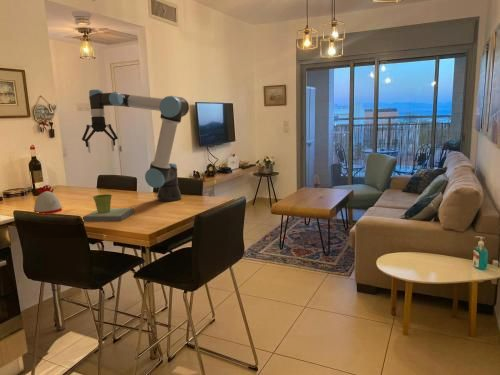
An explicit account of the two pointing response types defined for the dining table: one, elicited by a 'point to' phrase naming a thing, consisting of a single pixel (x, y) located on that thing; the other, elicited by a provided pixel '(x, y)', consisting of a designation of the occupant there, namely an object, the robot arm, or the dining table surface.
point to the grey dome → (47, 202)
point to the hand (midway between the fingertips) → (101, 151)
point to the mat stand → (110, 215)
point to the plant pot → (103, 202)
